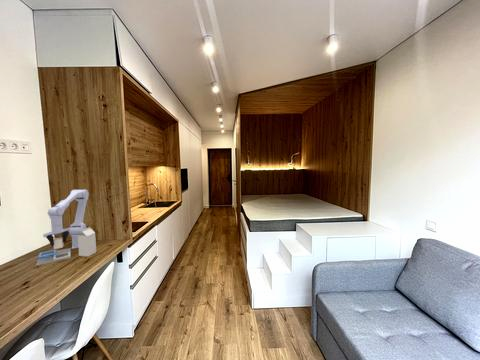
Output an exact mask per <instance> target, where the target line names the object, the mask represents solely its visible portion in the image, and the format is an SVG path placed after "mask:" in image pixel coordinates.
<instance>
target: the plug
mask: <svg viewBox="0 0 480 360" xmlns="http://www.w3.org/2000/svg"><path fill="white" fill-rule="evenodd" d="M64 244H65V243H64V242H63V237H54V246H53V250H57V249H58V250H59V249H61V248H62V249H63V247H64Z"/></svg>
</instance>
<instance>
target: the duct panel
mask: <svg viewBox="0 0 480 360" xmlns="http://www.w3.org/2000/svg"><path fill="white" fill-rule="evenodd" d="M71 253H72V247H68V248H64V249H63V248H62V249H58V250H57V249H56V254H55V255H54V256H51V257H48V258H41V259H39V258H38V259H37V261H36V264H35V266H40V265H41V266H42V265H45V264H50V263H54V262H59V261H64V260H67V259H71V257H72V255H71ZM50 254H54V252H52V253H47V254H42V256H45V255H50Z"/></svg>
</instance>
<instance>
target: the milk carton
mask: <svg viewBox="0 0 480 360" xmlns="http://www.w3.org/2000/svg"><path fill="white" fill-rule="evenodd" d="M96 242H97V240H96V232H95V231H94V230H93V229H92V227H91V226H89V227H86V229H84V230H82V232H81V233H80V234H79V235H78V257H90V256H92V255H94V254H96V252H97V243H96Z"/></svg>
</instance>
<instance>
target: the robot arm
mask: <svg viewBox="0 0 480 360" xmlns="http://www.w3.org/2000/svg"><path fill="white" fill-rule="evenodd" d="M89 195H90V193H89V191H88V189H72V190H71V191H70V194H69V195H68V196H67V197H66V198H65V199H62V200H60V201H59V202H58V203H57V204H56V205H54V206H53V207H50V208H49V209H47V210H48V212H47V216H49V219H50V225H51V226H50V227H51V231H49V232H46V233H43V234H42V237H43V238H46V239H47V240H48V242H49V244H50V246H51V247H54V239H55V237H54V235H58V234H61V235H62V237H63V244H65V243H66V242H67V238H68V236H70V237H71V250H73V249H79V247H78V235H79V234H80V233H81V232H82V230H84V229H86V228H87V225H86V224H85V223H84V217H85V214H86V213H85V212H86V207H87V202H88V200H89ZM74 200H75V201H77V207H76V212H75V217H74V222H73V223H71V224H70V227H65V228H63V215H64V212H65V211H66V210H67V208H69V207H70V206H71V205H70V203H71V202H72V201H74Z"/></svg>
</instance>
